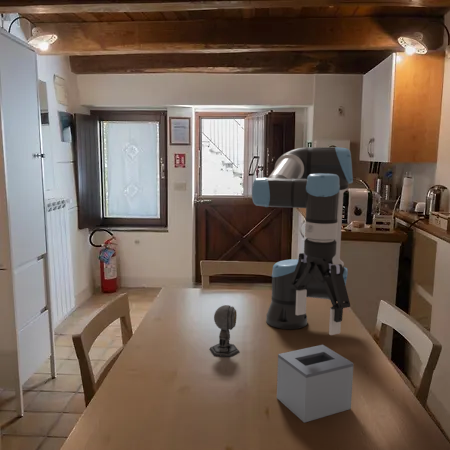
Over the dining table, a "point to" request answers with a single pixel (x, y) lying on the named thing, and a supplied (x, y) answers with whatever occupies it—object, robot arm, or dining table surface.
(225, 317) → the figurine
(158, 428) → the dining table surface
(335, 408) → the coin box
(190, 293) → the dining table surface
